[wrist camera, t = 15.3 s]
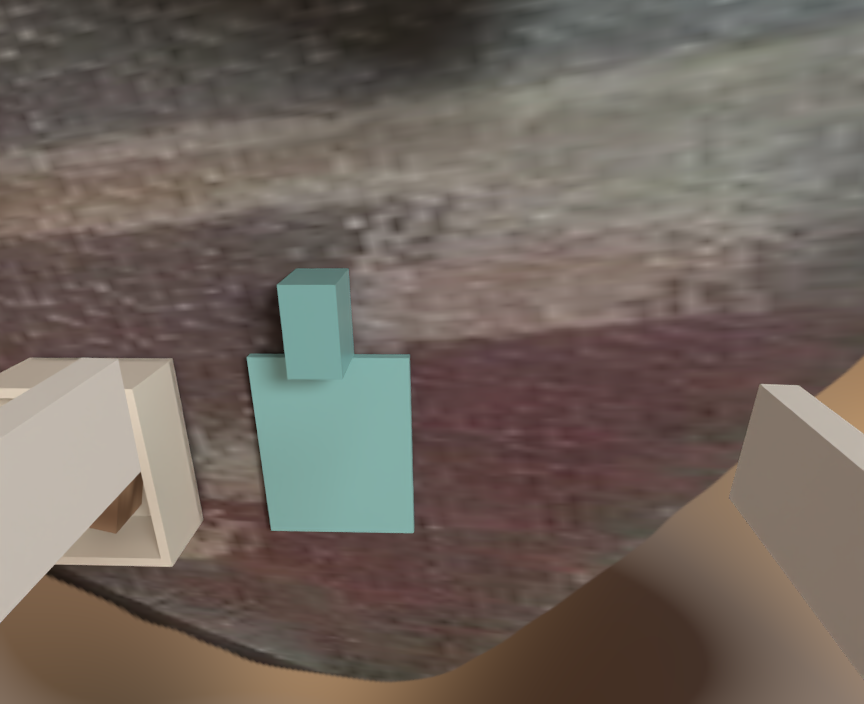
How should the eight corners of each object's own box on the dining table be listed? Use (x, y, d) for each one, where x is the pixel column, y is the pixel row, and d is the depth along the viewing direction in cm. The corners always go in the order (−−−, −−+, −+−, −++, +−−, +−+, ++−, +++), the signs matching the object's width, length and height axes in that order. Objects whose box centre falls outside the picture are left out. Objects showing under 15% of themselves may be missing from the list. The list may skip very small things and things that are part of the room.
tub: (30, 357, 45) (-30, 388, 40) (172, 358, 45) (132, 389, 39) (76, 517, 51) (30, 563, 46) (203, 519, 51) (172, 566, 45)
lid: (238, 268, 42) (211, 284, 37) (407, 268, 42) (401, 284, 37) (273, 524, 51) (255, 563, 46) (414, 527, 50) (410, 566, 46)
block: (98, 457, 48) (68, 483, 44) (144, 467, 48) (118, 495, 44) (97, 494, 49) (68, 522, 46) (141, 504, 50) (116, 533, 46)
